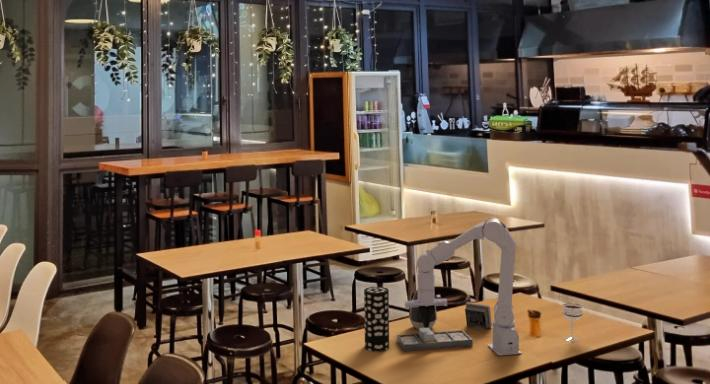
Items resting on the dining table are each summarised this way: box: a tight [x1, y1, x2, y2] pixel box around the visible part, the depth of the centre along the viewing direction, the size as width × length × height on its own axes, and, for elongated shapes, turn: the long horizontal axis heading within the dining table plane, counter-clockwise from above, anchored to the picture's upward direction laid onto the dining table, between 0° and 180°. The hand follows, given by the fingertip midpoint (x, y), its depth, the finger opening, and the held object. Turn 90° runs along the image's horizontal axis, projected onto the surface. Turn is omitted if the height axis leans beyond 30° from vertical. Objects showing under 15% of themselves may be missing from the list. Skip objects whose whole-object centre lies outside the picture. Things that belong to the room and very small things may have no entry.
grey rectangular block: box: [418, 328, 434, 343], centre depth 212 cm, size 7×4×4 cm, turn 9°
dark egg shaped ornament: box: [408, 289, 438, 330], centre depth 229 cm, size 10×10×15 cm
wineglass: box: [562, 302, 584, 343], centre depth 215 cm, size 7×7×12 cm
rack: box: [396, 329, 474, 353], centre depth 213 cm, size 10×24×2 cm, turn 100°
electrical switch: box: [464, 301, 493, 331], centre depth 229 cm, size 9×5×9 cm, turn 57°
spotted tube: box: [363, 286, 390, 352], centre depth 210 cm, size 8×8×20 cm
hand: (426, 326), depth 212 cm, fingers closed
